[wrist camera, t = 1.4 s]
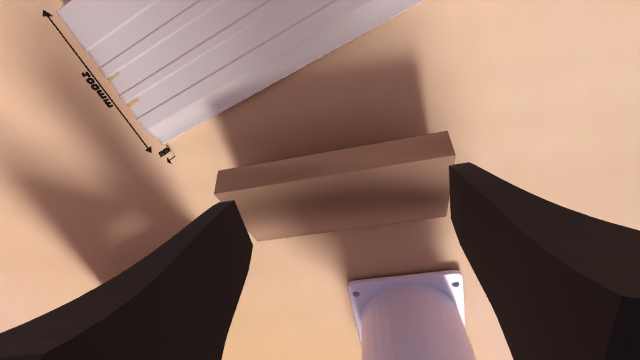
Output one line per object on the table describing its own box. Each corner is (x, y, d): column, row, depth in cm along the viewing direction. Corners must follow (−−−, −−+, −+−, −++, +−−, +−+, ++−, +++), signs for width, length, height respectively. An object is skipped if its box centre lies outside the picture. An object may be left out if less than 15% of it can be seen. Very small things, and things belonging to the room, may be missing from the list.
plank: (440, 195, 21) (446, 216, 20) (259, 221, 23) (257, 241, 22) (447, 130, 16) (455, 155, 15) (218, 170, 18) (214, 194, 17)
